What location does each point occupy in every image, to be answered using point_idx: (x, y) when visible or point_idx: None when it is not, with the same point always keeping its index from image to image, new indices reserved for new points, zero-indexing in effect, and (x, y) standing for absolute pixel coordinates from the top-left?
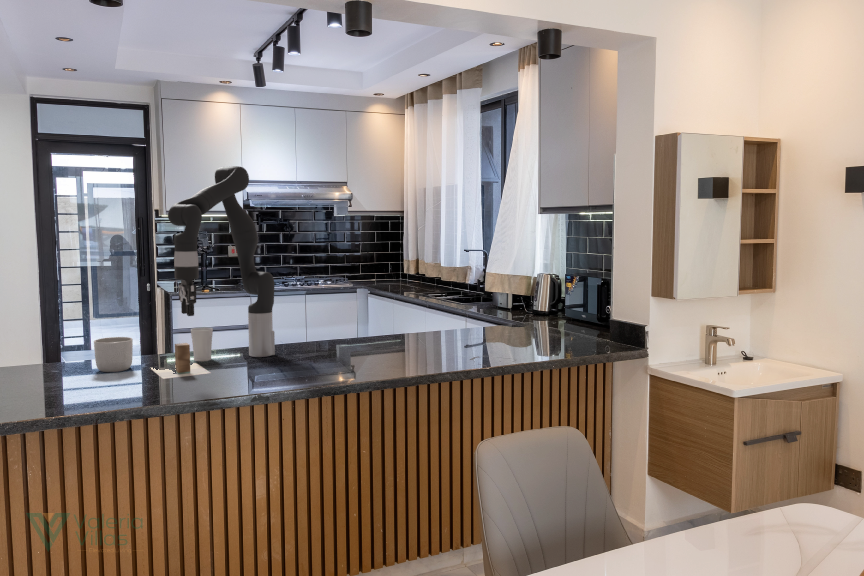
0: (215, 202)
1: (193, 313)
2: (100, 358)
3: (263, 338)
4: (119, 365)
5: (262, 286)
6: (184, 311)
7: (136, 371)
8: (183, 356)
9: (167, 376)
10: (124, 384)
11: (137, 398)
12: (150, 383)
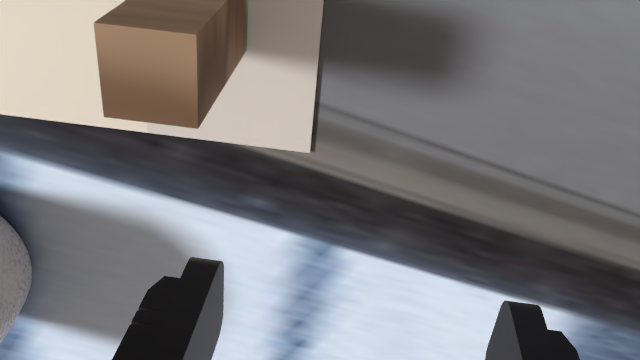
0: None
1: (542, 329)
2: None
3: None
4: (23, 269)
5: None
6: (216, 321)
7: (41, 183)
8: (220, 54)
9: (268, 116)
10: (303, 299)
11: (597, 338)
12: (359, 221)
